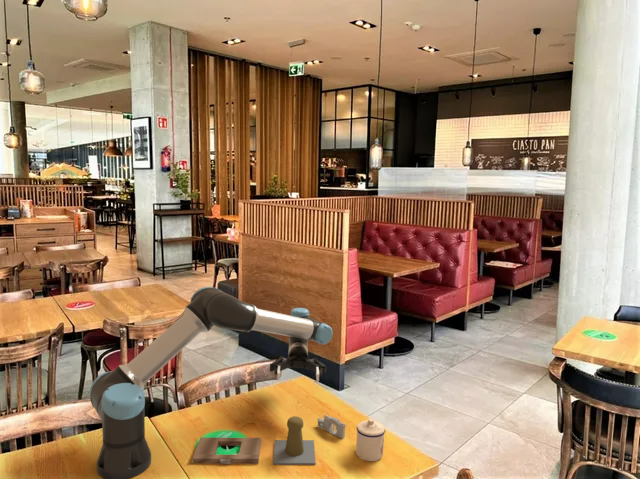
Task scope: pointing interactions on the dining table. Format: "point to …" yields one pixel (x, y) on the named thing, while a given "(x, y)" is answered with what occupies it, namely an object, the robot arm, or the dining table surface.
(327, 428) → the garden wall model
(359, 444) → the teacup with lid
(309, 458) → the gray mat
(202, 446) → the walnut holder
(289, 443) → the brown tall rounded piece
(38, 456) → the dining table surface
